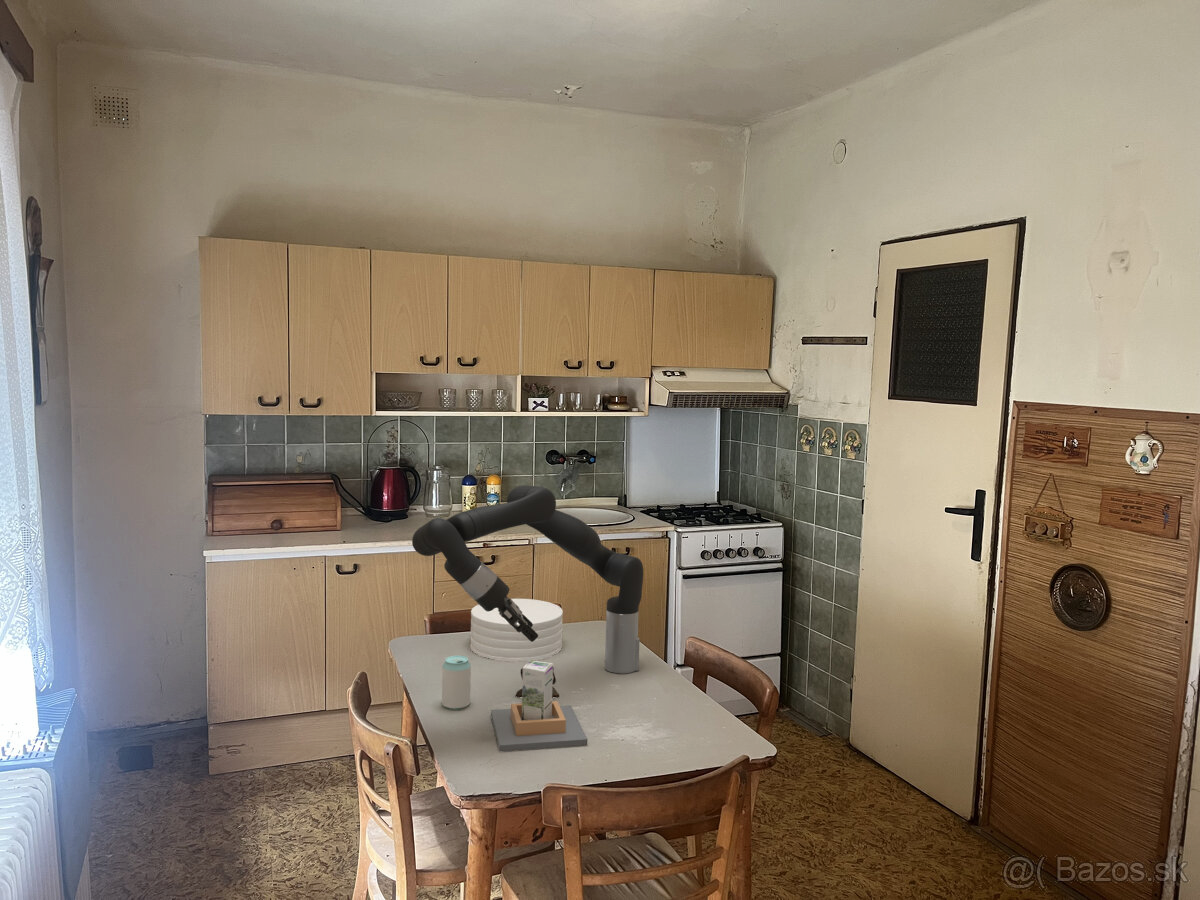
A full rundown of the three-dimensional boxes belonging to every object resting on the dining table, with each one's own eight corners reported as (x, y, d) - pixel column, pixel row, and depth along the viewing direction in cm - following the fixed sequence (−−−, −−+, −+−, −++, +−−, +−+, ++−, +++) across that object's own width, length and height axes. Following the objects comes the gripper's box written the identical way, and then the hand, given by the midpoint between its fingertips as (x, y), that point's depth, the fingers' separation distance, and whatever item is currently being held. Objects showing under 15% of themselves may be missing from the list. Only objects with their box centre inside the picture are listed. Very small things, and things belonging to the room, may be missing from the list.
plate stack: (484, 630, 276) (485, 596, 275) (568, 636, 272) (569, 601, 271) (458, 658, 248) (459, 620, 247) (552, 665, 244) (553, 627, 243)
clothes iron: (562, 698, 221) (555, 665, 218) (521, 713, 217) (514, 679, 215) (554, 686, 227) (547, 653, 225) (514, 700, 224) (507, 667, 221)
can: (474, 701, 216) (475, 655, 215) (464, 712, 209) (465, 665, 208) (448, 698, 217) (449, 653, 216) (437, 708, 210) (438, 662, 209)
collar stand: (570, 710, 212) (571, 693, 211) (587, 745, 192) (587, 726, 192) (490, 715, 207) (491, 698, 207) (499, 751, 188) (499, 732, 187)
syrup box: (552, 721, 201) (554, 662, 200) (543, 730, 196) (544, 670, 195) (530, 717, 203) (531, 658, 202) (520, 726, 198) (521, 666, 196)
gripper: (499, 582, 187) (549, 630, 191) (493, 567, 201) (539, 613, 204) (474, 606, 186) (525, 654, 190) (470, 590, 200) (517, 635, 204)
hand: (532, 633), depth 197 cm, fingers open, 8 cm apart
